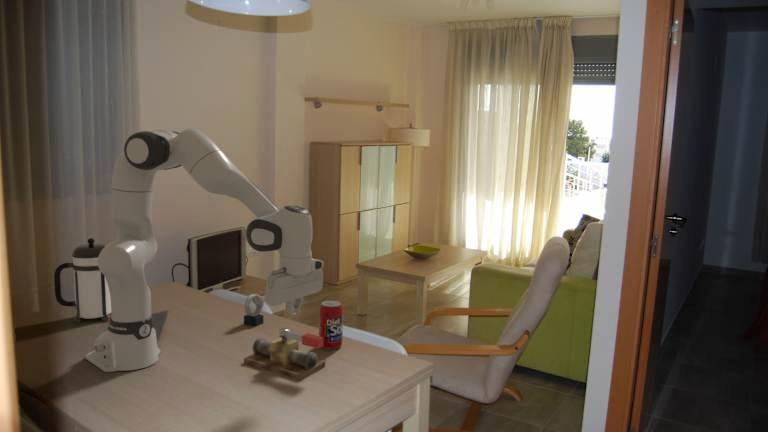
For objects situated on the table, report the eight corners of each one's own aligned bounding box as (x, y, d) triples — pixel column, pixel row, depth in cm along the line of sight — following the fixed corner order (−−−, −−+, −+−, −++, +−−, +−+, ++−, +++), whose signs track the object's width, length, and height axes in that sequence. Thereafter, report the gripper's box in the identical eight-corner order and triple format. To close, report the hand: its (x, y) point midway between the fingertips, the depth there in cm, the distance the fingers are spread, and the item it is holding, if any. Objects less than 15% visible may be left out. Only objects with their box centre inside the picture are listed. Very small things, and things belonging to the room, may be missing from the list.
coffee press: (102, 308, 223) (98, 232, 218) (125, 317, 213) (121, 238, 209) (55, 319, 209) (50, 238, 204) (77, 329, 200) (73, 245, 195)
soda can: (322, 341, 196) (323, 298, 194) (344, 343, 195) (345, 300, 192) (315, 349, 189) (316, 305, 186) (338, 352, 187) (339, 307, 185)
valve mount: (243, 362, 176) (243, 334, 175) (270, 350, 186) (270, 323, 185) (300, 380, 165) (300, 350, 164) (325, 366, 176) (325, 338, 174)
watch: (266, 321, 213) (266, 293, 212) (252, 328, 206) (252, 298, 205) (254, 319, 216) (254, 290, 214) (240, 325, 209) (240, 296, 207)
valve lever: (276, 337, 174) (277, 328, 174) (284, 334, 177) (284, 326, 176) (317, 349, 166) (317, 340, 165) (324, 345, 169) (324, 337, 168)
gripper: (277, 274, 148) (276, 325, 150) (327, 261, 165) (325, 307, 167) (259, 269, 151) (258, 320, 153) (310, 257, 168) (309, 302, 170)
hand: (294, 313), depth 160 cm, fingers closed
